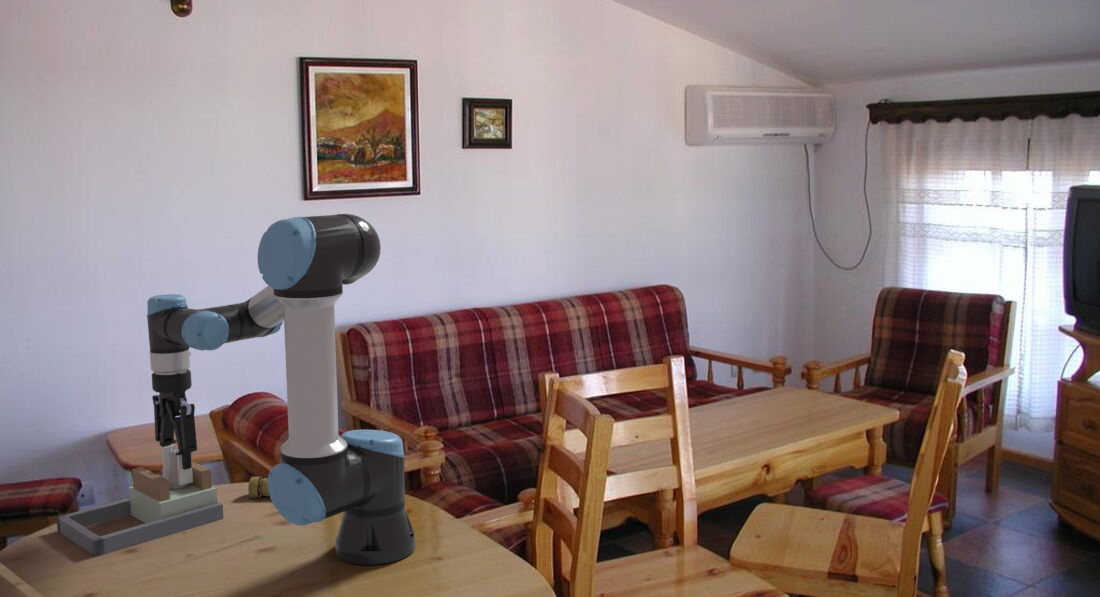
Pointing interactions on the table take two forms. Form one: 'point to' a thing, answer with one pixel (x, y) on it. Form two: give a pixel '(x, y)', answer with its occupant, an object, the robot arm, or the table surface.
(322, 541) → the table surface
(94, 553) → the bay
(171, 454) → the rook chess piece
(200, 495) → the mint green base plate
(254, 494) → the gavel
